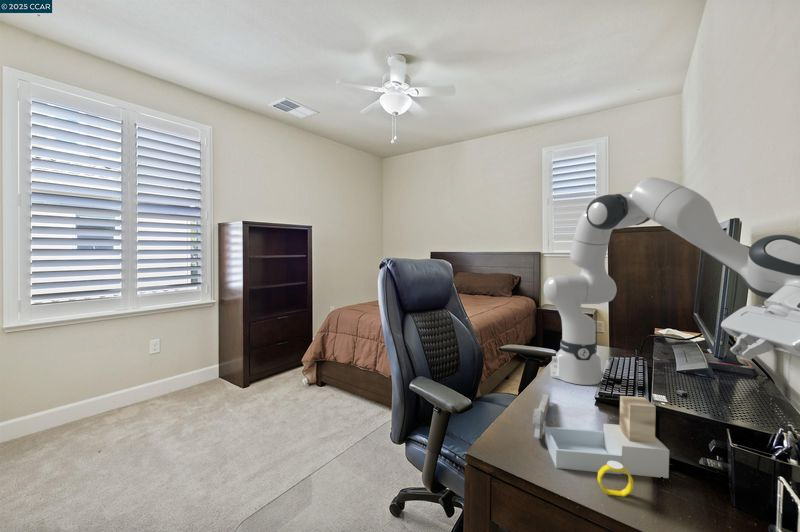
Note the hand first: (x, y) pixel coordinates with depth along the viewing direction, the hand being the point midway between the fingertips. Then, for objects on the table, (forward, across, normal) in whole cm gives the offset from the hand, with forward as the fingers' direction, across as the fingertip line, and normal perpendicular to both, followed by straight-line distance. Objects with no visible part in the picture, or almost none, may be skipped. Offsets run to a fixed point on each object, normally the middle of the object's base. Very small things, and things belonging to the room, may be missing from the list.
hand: (739, 355), depth 75 cm
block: (+27, 0, 0) cm, 27 cm away
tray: (+40, 0, -4) cm, 40 cm away
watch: (+38, +12, -2) cm, 40 cm away
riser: (+32, 0, +4) cm, 32 cm away
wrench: (+44, -16, -7) cm, 47 cm away
